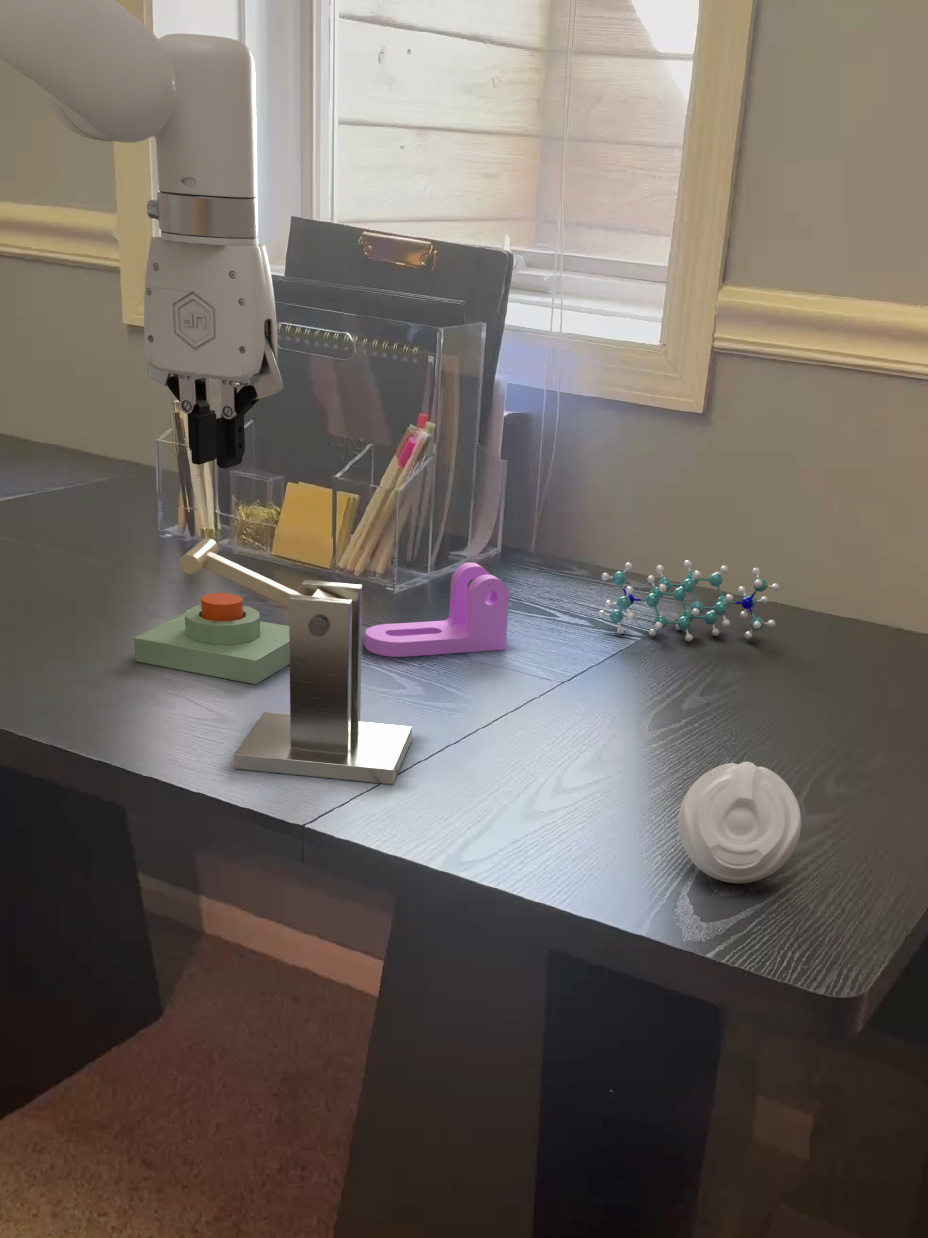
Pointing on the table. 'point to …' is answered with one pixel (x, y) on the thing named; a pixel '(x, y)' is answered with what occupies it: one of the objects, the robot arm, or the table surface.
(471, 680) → the table surface
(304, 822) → the table surface
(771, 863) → the motion sensor
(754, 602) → the molecule model
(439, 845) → the table surface
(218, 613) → the button
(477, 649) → the bracket
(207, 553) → the lever
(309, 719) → the bracket
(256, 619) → the button box
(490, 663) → the table surface
